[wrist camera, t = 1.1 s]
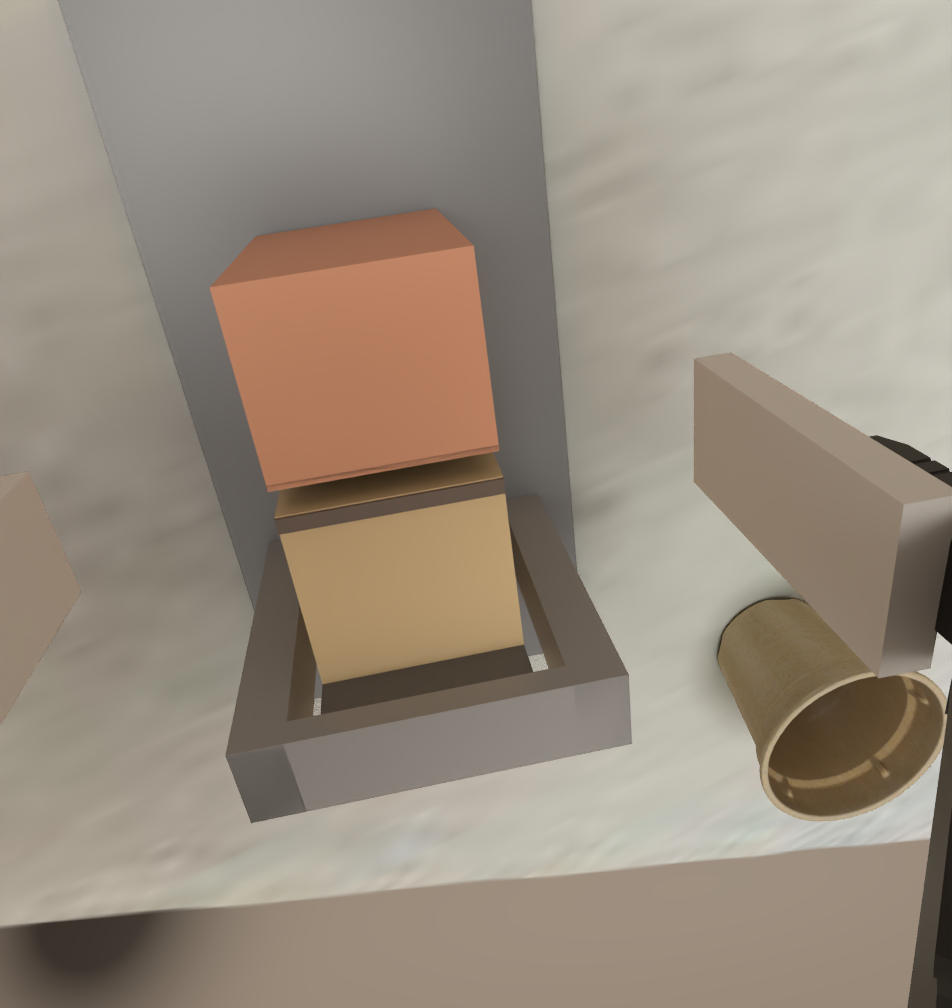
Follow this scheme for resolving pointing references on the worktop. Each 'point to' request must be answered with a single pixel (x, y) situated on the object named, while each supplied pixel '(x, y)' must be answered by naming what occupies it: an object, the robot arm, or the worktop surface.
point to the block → (358, 348)
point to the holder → (390, 494)
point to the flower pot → (826, 714)
